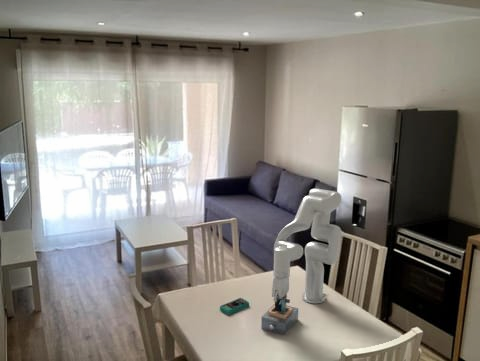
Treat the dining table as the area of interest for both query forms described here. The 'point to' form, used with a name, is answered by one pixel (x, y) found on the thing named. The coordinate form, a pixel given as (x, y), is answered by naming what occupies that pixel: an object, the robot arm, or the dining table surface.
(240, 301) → the digital multimeter
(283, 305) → the cylinder
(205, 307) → the dining table surface
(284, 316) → the grey box
